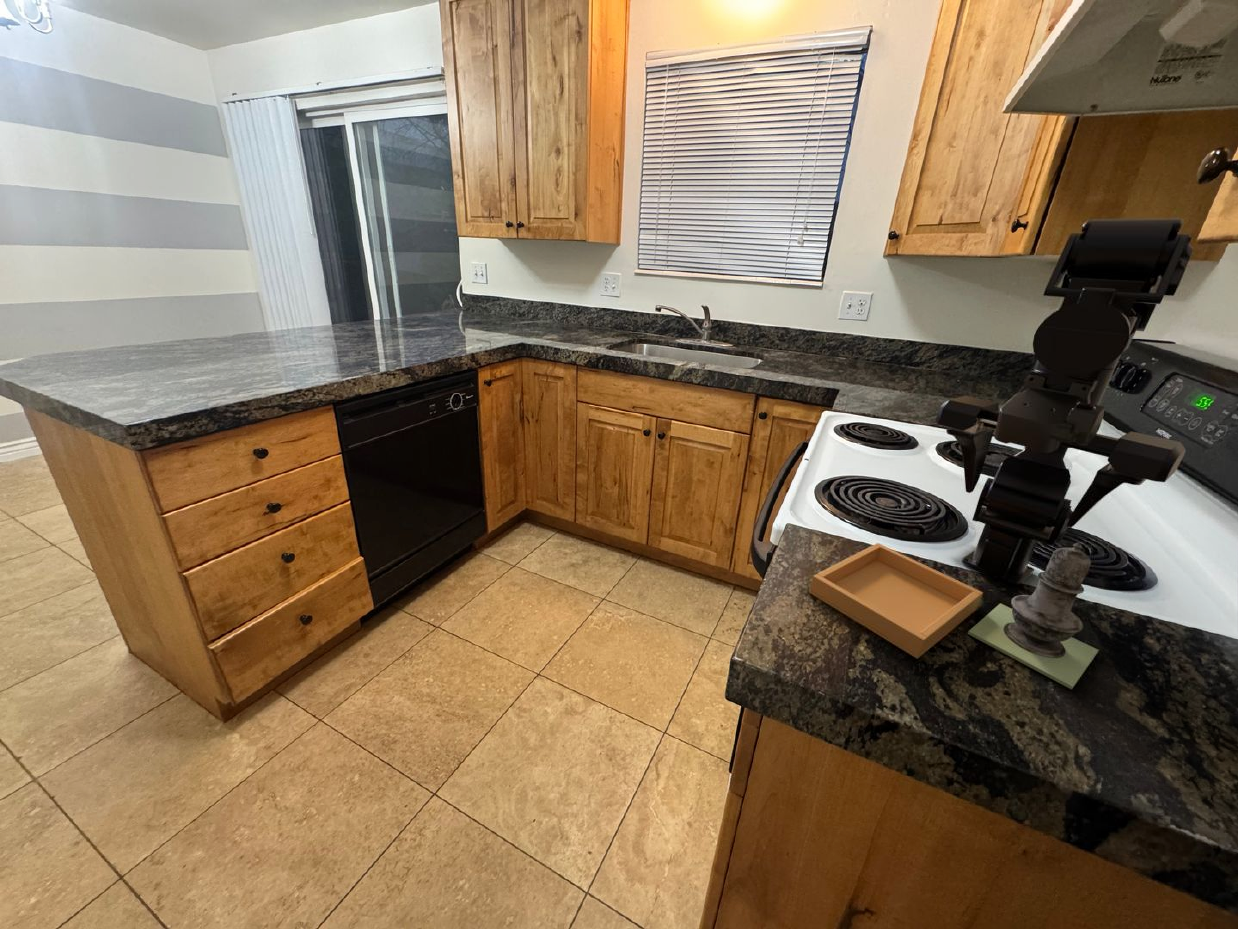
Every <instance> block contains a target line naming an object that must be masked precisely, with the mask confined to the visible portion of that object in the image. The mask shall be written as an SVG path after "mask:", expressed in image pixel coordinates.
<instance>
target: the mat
mask: <svg viewBox="0 0 1238 929" xmlns="http://www.w3.org/2000/svg"><path fill="white" fill-rule="evenodd" d="M1010 622H1015V621H1014V618H1013V614H1012V608H1011V607H1009V606H1008V605H1005V604H1003V603H999V604H998V605H997V606H995V607H994V608H993V609H992V610H991V611H990V612H988V614H986V615H985V616H984V617H983V618H982V619H980V620H979V621H978V622H977V623H976V624H975V625H974V626H973V627H971V628H970V629H969V630H968V631H967V635H969V636H971V637H973V638H975V639H976V640H978V641H980V642H981V643H984V644H986V645H988V646H989V647H991V648H993V649H995V650H997V651H998V652H1001V653H1002V654H1004V655H1006V656H1007V657H1010V658H1012V659H1014V660H1015V661H1018V663H1021V664H1023V665H1024V666H1027V667H1028V668H1030V669H1032V670H1034V671H1036V672H1037V673H1040V674H1042V675H1044V676H1045V677H1047V678H1049V679H1051V680H1053V681H1055V682H1057V683H1058V684H1060V685H1062V686H1064V687H1066V688H1067V689H1070V690H1073V688H1074V687H1075V685H1076V684H1077V683H1078V682H1079V680H1080V678H1082V676H1083V674H1085V671H1086V670H1087V668H1088V667H1089V666H1090V664H1091V663H1092V661H1093V660H1094V658H1095V657H1096V656H1097V654H1098V653H1099V649H1097V648H1095V647H1093V646H1091V645H1089V644H1087V643H1085V642H1083V641H1080V640H1079V639H1076V638H1075V637H1073V636H1072V637H1071V638H1069V639H1068V640H1065V641H1062V642H1061V643H1062V644H1063V646H1064V648H1065V651H1066V653H1065V655H1064V656H1063V657H1060V658H1048V657H1043V656H1040V655H1036V654H1034V653H1032V652H1029V651H1027V650H1025V649H1023V648H1021V647H1020V646H1018V645H1017V644H1015V643H1014V642H1012V641H1011V640H1010V639H1009V638H1008V637H1007V636H1006V634H1005V633H1004V630H1003V629H1004V625H1006V624H1007V623H1010Z"/></svg>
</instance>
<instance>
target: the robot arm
mask: <svg viewBox="0 0 1238 929" xmlns="http://www.w3.org/2000/svg"><path fill="white" fill-rule="evenodd" d="M1183 223H1184V220H1183V219H1182V217H1180V218H1179V217H1178V218H1177V217H1175V218H1174V217H1173V218H1091V219H1090V218H1089V219H1088V220H1086V221H1085V222H1084V223H1083V224H1082V227H1081V230H1080V232H1070V235H1069V236H1068V239H1067V241H1066V243H1065V244H1064V247H1063V249H1062V252H1061V254H1060V256H1059V259H1058V260H1057V262H1056V264H1055V267H1054V269H1053V271H1052V273H1051V276H1050V278H1049V280H1048V282H1047V284H1046V287H1045V289H1044V291H1043V295H1042V296H1043V297H1052V298H1063V300H1062V303H1061V305H1060V306H1059V308H1058V309H1057V310H1055V311H1053V312H1052V313H1051V314H1050V315H1049V316H1047V317H1046V318H1044V320H1043V321H1042V322H1041V323H1040V324H1039V326H1038V327H1037V328H1036V330H1035V332H1034V335H1033V340H1032V349H1033V350H1032V351H1033V354H1034V355H1035V358H1036V362H1035V364H1034V365H1035V366H1034V368H1033V370H1030V372H1029V375H1028V376H1027V378H1026V381H1025V383H1024V385H1023V386H1022V387H1021V389H1020V390H1019V391H1018V392H1017V393H1015V394H1014V395H1013V396H1012V397H1011V398H1010V399H1009V400H1007V401H1006V403H1005V404H1003V405H1002V406H1001V407H1000V406H999V404H1000V403H999V402H998V401H997V402H996V401H992V400H986V399H982V398H978V397H974V396H968V395H964V396H959V397H955V398H950V399H948V400H946V401H944V402H943V403H942V404H941V405H940V407H939V409H938V412H937V415H936V418H935V421H934V422H935V424H937V425H940V426H944V427H947V428H946V434H947V435H950V436H952V437H954V438H955V440H956V442H957V443H958V445H959V448H960V452H961V456H962V461H963V473H964V474H963V475H964V476H963V477H964V486H965V492H966V493H969V494H971V493H973V492H974V490H975V488H976V486H977V484H978V482H979V480H980V477H981V474H982V471H983V468H984V466H985V462H986V459H987V454H988V453H989V449H990V446H991V443H992V439H993V438H994V439H995V440H996V441H997V442H999V443H1001V444H1002V443H1003V444H1014V445H1016V446H1021V447H1024V448H1023V449H1022V450H1021V451H1019V452H1017V453H1016V454H1014V455H1012V454H1010V455H1009V456H1007V457H1006V458H1005V459H1004V460H1003V461H1002V462H1001V463H1000V464H999V466H998V469H997V471H996V473H995V475H994V478H991V477H987V478H986V481H985V482H984V485H983V487H982V490H981V491H980V494H979V497H978V501H977V504H976V507H975V510H974V512H973V515H972V516H973V517H972V519H971V520H972V521H973V522H978V523H981V524H984V526H983V529H982V531H981V534H980V536H979V539H978V541H977V544H976V547H975V549H974V550H972V552H970V553H968V554H967V555H965V556H964V557H962V559H961V563H962V564H964V565H966V566H969V567H970V568H973V569H975V570H977V571H980V572H982V573H984V574H986V575H989V576H990V577H993V578H996V579H997V580H1000V581H1002V582H1004V583H1007V584H1009V585H1012V586H1015V587H1018V586H1019V585H1021V584H1022V583H1023V582H1024V581H1025V580H1027V579H1028V577H1030V576H1032V574H1033V573H1034V571H1035V568H1034V567H1032V566H1030V565H1029V563H1030V561H1031V559H1032V557H1033V554H1034V552H1035V549H1036V548H1037V545H1038V543H1039V542H1040V543H1043V544H1045V545H1047V546H1051V547H1052V545H1053V544H1061V543H1062V541H1063V538H1064V537H1065V534H1066V532H1067V530H1068V528H1070V529H1071V528H1073V527H1074V526H1076V525H1077V524H1078V523H1079V522H1080V521H1081V520H1082V519H1083V518H1084V517H1085V516H1086V514H1088V513H1089V512H1090V511H1091V510H1092V509H1093V508H1094V507H1096V505H1098V504H1099V502H1101V501H1102V500H1103V499H1104V498H1105V497H1106V496H1108V495H1109V494H1111V492H1113V491H1114V490H1116V489H1117V488H1118V487H1120V486H1121V485H1123V484H1128V485H1132V486H1141V485H1142V484H1144V483H1145V481H1147V480H1148V481H1151V482H1156V483H1165V482H1166V481H1168V480H1169V478H1171V477H1172V476H1173V475H1174V473H1176V471H1177V470H1178V468H1179V465H1180V464H1181V462H1182V460H1183V458H1184V456H1185V453H1186V451H1187V450H1186V448H1185V446H1184V445H1183V443H1182V442H1181V441H1177V440H1173V439H1169V438H1164V437H1159V436H1154V435H1150V434H1145V433H1140V432H1135V431H1129V432H1127V433H1126V434H1124V435H1122V436H1121V437H1119V438H1118V437H1113V436H1109V435H1105V434H1100V433H1099V430H1100V427H1101V425H1102V422H1103V420H1104V413H1105V409H1106V408H1105V406H1103V405H1100V404H1101V401H1102V399H1103V397H1104V394H1105V392H1106V390H1107V388H1108V386H1109V383H1110V381H1111V378H1112V376H1113V374H1114V372H1115V369H1116V367H1117V365H1118V363H1119V360H1120V358H1121V356H1122V354H1123V352H1125V351H1127V350H1128V349H1129V347H1130V345H1131V343H1132V341H1133V339H1134V336H1135V335H1136V332H1144V331H1145V330H1146V328H1147V326H1148V324H1149V321H1150V319H1151V317H1152V315H1153V313H1154V311H1155V309H1156V308H1157V305H1161V304H1162V301H1163V299H1164V297H1165V296H1166V297H1167V296H1169V297H1174V296H1175V294H1176V292H1177V290H1178V288H1179V286H1180V285H1181V281H1182V279H1183V276H1184V274H1185V271H1186V269H1187V267H1188V264H1189V261H1190V259H1191V257H1192V254H1193V252H1194V247H1193V246H1192V245H1191V244H1190V243H1191V241H1192V237H1193V236H1190V235H1191V233H1189V232H1180V230H1181V228H1182V226H1183ZM1061 281H1062V282H1061ZM1060 284H1061V285H1060ZM1059 285H1060V287H1059ZM1068 449H1074V450H1078V451H1082V452H1086V453H1090V454H1094V455H1097V456H1102V457H1105V458H1107V462H1108V463H1107V464H1105V465H1104V466H1102V467H1101V468H1100V469H1098V470H1097V471H1096V474H1095V476H1094V477H1093V480H1092V481H1091V483H1090V485H1089V486H1088V488H1087V489H1086V491H1085V493H1084V494H1083V495H1082V497H1081V498H1080V500H1079V501H1078V503H1077V504H1076V506H1075V508H1073V510H1072V505H1071V503H1072V499H1068V498H1066V496H1067V493H1068V491H1069V488H1070V486H1071V483H1072V480H1071V477H1072V476H1071V471H1070V469H1069V468H1067V466H1066V464H1065V461H1064V458H1065V456H1066V453H1067V451H1068Z"/></svg>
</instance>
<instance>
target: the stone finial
mask: <svg viewBox="0 0 1238 929" xmlns="http://www.w3.org/2000/svg"><path fill="white" fill-rule="evenodd" d="M1072 546H1073V547H1059V548H1057V549H1055V550H1054V551H1053V552H1052V554H1051V557H1050V559H1049V561H1048V564H1047V565H1046V568H1045V570H1044V571H1041V572H1038V574H1037V577H1038V579H1039V581H1038V583H1037V585H1036V587H1035V589H1034V592H1033V593H1032V594H1031V595H1029V594H1019V595H1016V596H1014V597H1012V598H1011V602H1010V604H1011V606H1012V608H1011V609H1012V614H1013V618H1014V621H1015V622H1010V623H1007V624H1006V625H1004V629H1003V630H1004V633H1005V634H1006V636H1007V637H1008V638H1009V639H1010V640H1011V641H1012V642H1014V643H1015V644H1017V645H1018V646H1020V647H1021V648H1023V649H1025V650H1027V651H1029V652H1032V653H1034V654H1036V655H1040V656H1043V657H1048V658H1060V657H1063V656H1064V655H1065V653H1066V651H1065V648H1064V646H1063V644H1062V643H1061V642H1062V641H1065V640H1068V639H1069V638H1071V637H1072V638H1073V637H1074V636H1075V635H1076V634H1078V633H1080V632H1081V631H1082V630H1083V628H1084V625H1083V622H1082V620H1081V619H1080V618H1079V617H1078V616H1077V615H1076V614H1075V613H1074V612H1072V609H1073V605H1074V602H1075V601H1076V598H1077V596H1078V595H1080V594H1083V593H1084V592H1085V588H1084V587H1083V582H1084V580H1085V578H1086V575H1087V573H1088V571H1089V570H1090V567H1091V564H1092V561H1091V558H1090V557H1089V556H1088V555H1087V554H1086V553H1085V552H1083V551H1082V550H1081V549H1082V548H1083V546H1082V544H1081V542H1079V541H1078V542H1076V543H1073V544H1072Z"/></svg>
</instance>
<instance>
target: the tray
mask: <svg viewBox="0 0 1238 929" xmlns="http://www.w3.org/2000/svg"><path fill="white" fill-rule="evenodd" d="M808 590H809V591H808V593H809V594H811V595H813V596H814V597H816V598H817V599H819V600H820V601H822V602H824V603H825V604H827V605H829V606H830V607H832V608H834V610H837V611H839V612H840V613H841V614H844V615H845V616H846V617H848V618H850V619H852V620H853V621H855V622H856V623H858V624H860V625H861V626H863V627H864V628H866V629H868V630H869V631H871V632H873V633H874V634H876V635H878V637H881V638H883V639H884V640H886V641H887V642H889V643H891V644H892V645H894V646H896V647H897V648H899V649H901V650H902V651H903V652H905V653H907V654H908V655H910V656H911V657H914V658H915V659H919V658H920V657H921V656H923V655H924V654H925V653H926V652H928V651H929V650H930V649H931V648H932V647H933V646H935V645H936V644H937V643H938V642H939V641H941V640H942V639H943V638H944V637H945V636H946V635H948V634H949V633H950V632H952V631H953V630H954V629H955V628H957V627H958V625H960V624H961V623H962V622H963V621H965V620H966V619H967V618H968V617H970V616H971V615H972V614H973V613H975V611H977V610H978V608H979V605H980V602H981V600H982V597H983V595H984V592H983V591H981V590H980V589H979V590H978V589H977V588H975V587H972V586H971V585H968V584H966V583H963V582H962V581H959V580H957V579H956V578H953V577H951V576H949V575H947V574H945V573H942V572H940V571H939V570H936V569H934V568H932V567H930V566H928V565H926V564H923V563H921V562H919V561H917V560H915V559H914V558H911V557H909V556H907V555H904V554H902V553H900V552H898V551H896V550H895V549H892V548H890V547H888V546H885V545H883V544H881V543H879V542H877V543H875V544H872V545H870V546H869V547H866V548H865V549H863V550H861V551H859V552H857V553H855V554H852V555H851V556H849V557H847V558H845V559H843V560H841V561H840V562H839V561H838V562H837V563H835V564H833V565H832V566H830V567H827V568H826V569H824V570H822V571H820V572H818V573H816V574H814V575H812V579H811V583H810V586H809V589H808Z"/></svg>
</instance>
